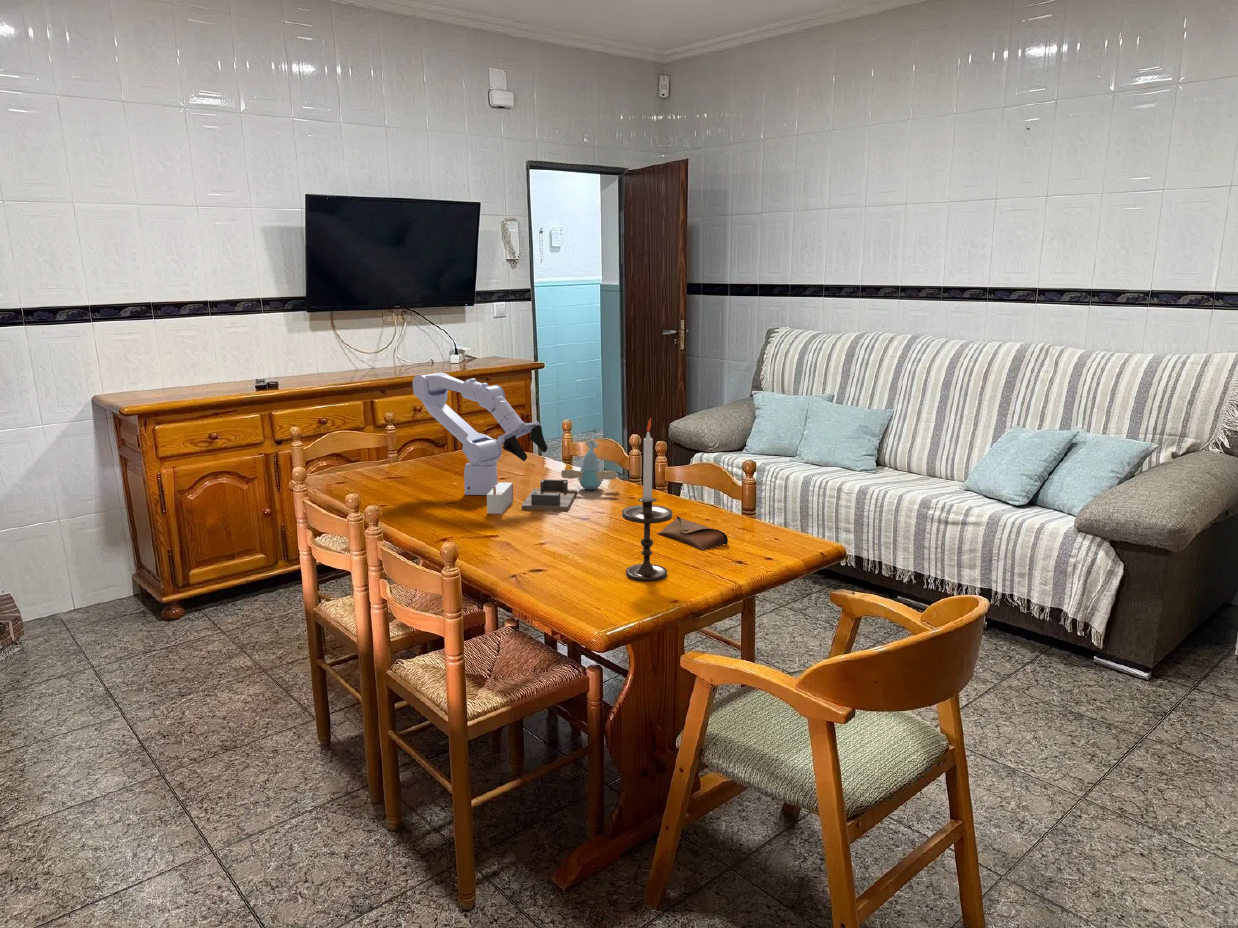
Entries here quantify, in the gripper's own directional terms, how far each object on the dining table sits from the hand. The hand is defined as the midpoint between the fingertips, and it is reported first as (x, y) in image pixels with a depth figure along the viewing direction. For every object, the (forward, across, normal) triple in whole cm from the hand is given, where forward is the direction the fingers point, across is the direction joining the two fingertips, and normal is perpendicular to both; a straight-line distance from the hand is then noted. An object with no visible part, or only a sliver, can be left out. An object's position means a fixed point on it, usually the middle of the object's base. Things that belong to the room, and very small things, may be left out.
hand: (535, 454), depth 243 cm
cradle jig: (+11, +1, +10) cm, 15 cm away
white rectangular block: (+5, -12, +12) cm, 18 cm away
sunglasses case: (+49, +3, -24) cm, 55 cm away
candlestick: (+53, -23, -35) cm, 67 cm away
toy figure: (+12, +19, +14) cm, 26 cm away
